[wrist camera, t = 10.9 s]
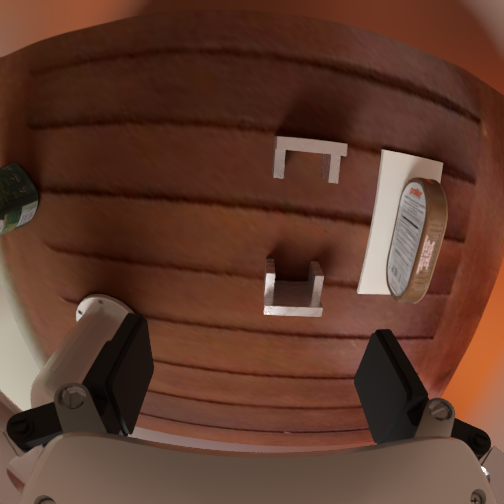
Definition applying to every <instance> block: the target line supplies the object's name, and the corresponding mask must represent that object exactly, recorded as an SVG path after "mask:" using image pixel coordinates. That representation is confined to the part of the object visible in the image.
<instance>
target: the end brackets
mask: <svg viewBox="0 0 504 504" xmlns="http://www.w3.org/2000/svg"><path fill="white" fill-rule="evenodd" d="M347 145H348V144H344V143H338V142H332V141H324V140H316V139H306V138H296V137H285V136H274V149H273V165H272V174H273V178H284V165H285V151H286V150H294V151H304V152H314V153H323V158H322V169H321V177H322V178H323V179H325V180H326V181H327V182H329V183H338V177H339V168H340V158H341V156H346V155H347ZM323 280H324V275H323V272H322V270H321V267H320V265H319V262H318V261H310V267H309V274H308V280H307V282H302V281H281V280H275V265H274V259H270V258H266V263H265V276H264V315H286V316H319V317H321V315H322V310H323V307H322V303H321V300H320V296H321V291H322V285H323Z"/></svg>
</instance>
